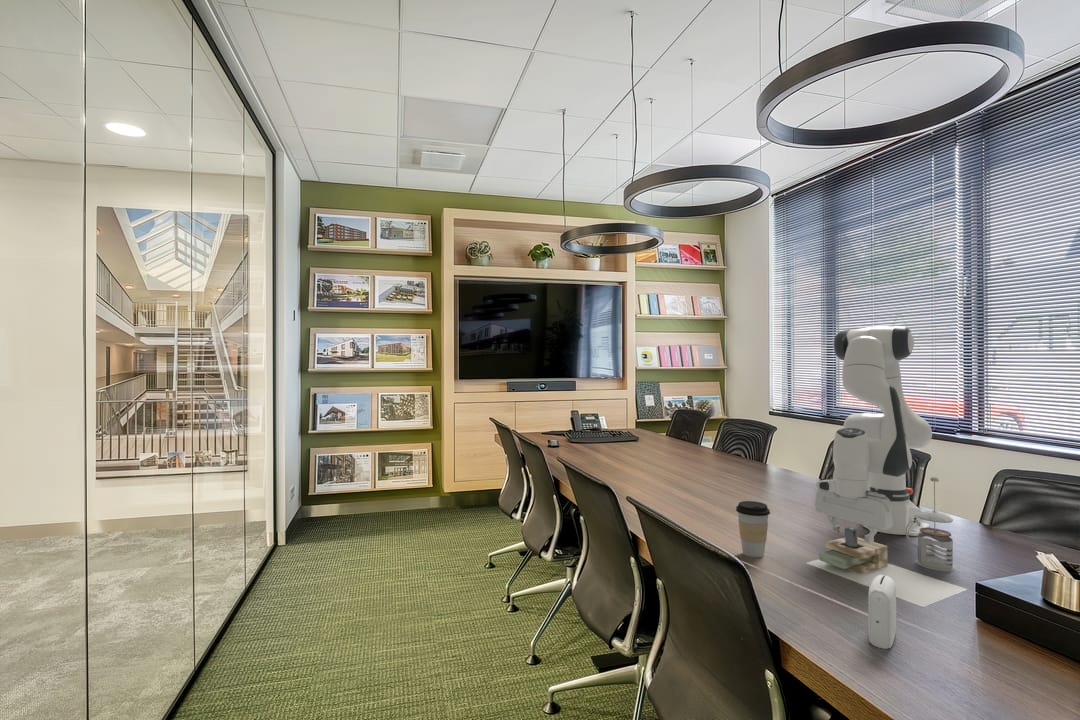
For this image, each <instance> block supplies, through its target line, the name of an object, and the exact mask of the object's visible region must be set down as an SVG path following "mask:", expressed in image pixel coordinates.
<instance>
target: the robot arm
mask: <svg viewBox="0 0 1080 720" xmlns="http://www.w3.org/2000/svg"><path fill="white" fill-rule="evenodd" d="M914 346H915V338H914V336H913V334H912V331H911V330H910V329H909V328H908V327H906V326H901V325H894V326H871V327H870V326H869V327H861V328H854V329H844V330H841V331H838V333H837V334H835V336H834V341H833V351H834V353H835V355H836V357H837V358H838V359H839V360H841V361H843V364H842V365H843V366H842V372H841V375H842V376H841V379H842V386H843V388H844V389H845V391H846V392H847V393H848V394H849V395H851V396H853V398H856V399H858V400H860V401H862V402H865V403H868V404H871V405H873V406H875V407H877V408H878V409H880V411H881V412H882V413H873V412H871V413H870V412H864V413H863V412H862V413H861V412H860V413H853V414H852V413H851V414H850V415H848V417H846V418H845V420H844V423H843V426H842V427H843V428H840V429H838V430H836V431H835V434H834V437H833V438H834V439H833V445H832V450H831V452H832V462H833V465H834V470H833V473H832V477H833V478H828V479H822V480H819V481H816V485H815V486H816V491H815V494H814V508H815V511H816V512H817V513H818V514H823V515H826V517H827V518H826V519H827V520H828V522H829V524H830V526H831V532H833V533H837V534H838V533H840V532H841V525H839V524H838V523H837V521H836V519H839V520H844V521H847V522H852V523H853V524H854V523H855V524H859V525H862V527H864V528H866V529H868V531H869V533H867V534H865V535H864V539H865V541H866V542H869V543H873V542H875V538H874V537H875V535H877V533H878V532H879V533H883V534H891V535H905V536H906V527H907V525H908V524H909V523H910V522H911V521H913V522H912V523H910V524H909V526H908V528H907V536H908V529H909V527H910V525H911V524H913V523H914V524H913V525H912V526H911V527H910V530H909V537H910V536H911V537H918V534H919V533H922V532H920V530H919V529H920V528H925V527H926V528H931V525H930V524H929V523H926V522H924V521H922V520H923V519H920V518H919V517H918V516H917V514H919V513H921V512H922V511H921V508H919V507H918V506H917V505H915V504H914V503H913V502H912V501H911V500H910V495H913V493H914V490H913V488H910V487H906V486H907V485H906V481H907V478H906V477H907V475H906V473H908V472H909V471H911V467H912V465H913V457H912V456H913V455H912V453H911V449H923V448H925V447H926V446H928V444H929V443H930V442H931V440H932V437H933V430H932V427H931V425H930V424H929V422H928V421H927V420H926V419H925V418H923V417H921V416H920V415H919V414H917V413H916V412H914V410H913V409H912V408H911V406H909V403H907V401H906V399H905V398H906V397H905V396H904V390H903V383H902V376H901V374H902V373H901V367H900V361H902V360H903V359H907V358H908V357H909V356H910V355H911V354H912V353H913V350H914ZM914 520H918V522H920V526H918V525H919V523H918V525H917V523H915V522H917V521H914Z"/></svg>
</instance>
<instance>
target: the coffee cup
mask: <svg viewBox="0 0 1080 720" xmlns="http://www.w3.org/2000/svg"><path fill="white" fill-rule="evenodd" d="M735 511H736V512H737V513H738V521H737V522H738V528H739V537H740V540H741V541H740V542H741V549H742V555H745V556H746V557H750V558H763V557H765V551H766V542H767V538H768V537H767V536H768V527H769V526H768V525H769V522H768V520H769V515H770V514H771V512H770V509H769V508H768V505H767V504H766V503H763V502H760V501H752V500H751V501H750V500H745V501H744V500H743V501H739V502H738V505H737V506H736V509H735Z"/></svg>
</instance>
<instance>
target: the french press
mask: <svg viewBox="0 0 1080 720" xmlns="http://www.w3.org/2000/svg"><path fill="white" fill-rule="evenodd" d="M930 481H931V482H933V504H934V505H933V508H934V510H927V511H926V510H925V511H921V513H919V514H917V516H918V517H919V518H920V519H922V520H924V521H927V522H933V523H934V527H930V528H926V527H925V528H920V529H919V530H920V532H922V533H919V534H918V536H917V544H915V543H913V542H912V541H911V539H910V535H909V530H910V527H911V526H912V525H913V524H914V523H913V524H911V525H910V527H909V529H908V535H907V528H908V526H909V524H910V523H912V522H913V521H911V522H910V523H909V524H908V525H907V527H906V535H905V536H906V538H907V540H908V542H910V543H911V544H912V545H913V546H914V547H916V548H917V551H916V553H917V559H915V563H917V564H918V565H919V566H921V567H924V568H926V569H930V570H934V571H939V572H952V571H955V570H956V569H957V568H956V567H955V565H954V551H953V550H954V547H953V546H954V545H953V543H954V542H953V538H951V536H952V533H951V532H949V531H948V530H944V529H940V528H937V527H936V523H941V524H947V523H948V524H949V523H953V522H954V519H953V518H952V517H951V516H950V515H948V514H946V513H943V512H940V511H936V483H937V482H938V483H939V478H938V476H937V477H936V476H932V477H930ZM914 521H917V522H915V523H917V525H918V523H919V525H918V526H920V522H918V520H914ZM924 537H928V538H924ZM930 538H931V539H930ZM942 548H943V549H942ZM940 552H941V553H940ZM943 553H944V554H943Z"/></svg>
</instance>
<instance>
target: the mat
mask: <svg viewBox="0 0 1080 720" xmlns="http://www.w3.org/2000/svg"><path fill="white" fill-rule="evenodd" d="M806 565H809V566H812V567H815V568H818V569H820V570H822V571H825V572H828V573H830V574H834V575H836V576H839V577H841V578H844V579H846V580H850V581H852V582H855V583H858V584H860V585H862V586H866V587H870V584H871V582H872V581H873V579H874V578H875V577H876V576H878V575H883V576H888V577H890V578H891V579H892V580H893V581H894V583H895V585H896V599H900V600H902V601H905V602H908V603H910V604H913V605H915V606H919V607H921V608H925V607H927V606H931V605H932V604H935V603H938V602H940V601H942V600H946V599H948V598H950V597H953V596H956V595H957V594H960V593H963V592H966V591H968V590H969V589H968V588H965V587H961V586H958V585H955V584H952V583H950V582H947V581H943V580H941V579H937V578H934V577H931V576H928V575H924V574H922V573H919V572H916V571H912V570H910V569H907V568H903V567H900V566H897V565H895V564H891V563H888V562H887V566H885V567H882V568H879V569H876V570H873V571H869V572H866V573H863V574H859V573H857V572H854V571H851V570H848V569H843V568H840V567H837V566H834V565H832V564H829V563H826V562H823V561H821V560H819V558H818V559H815V560H811V561H808V562H806Z"/></svg>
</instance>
